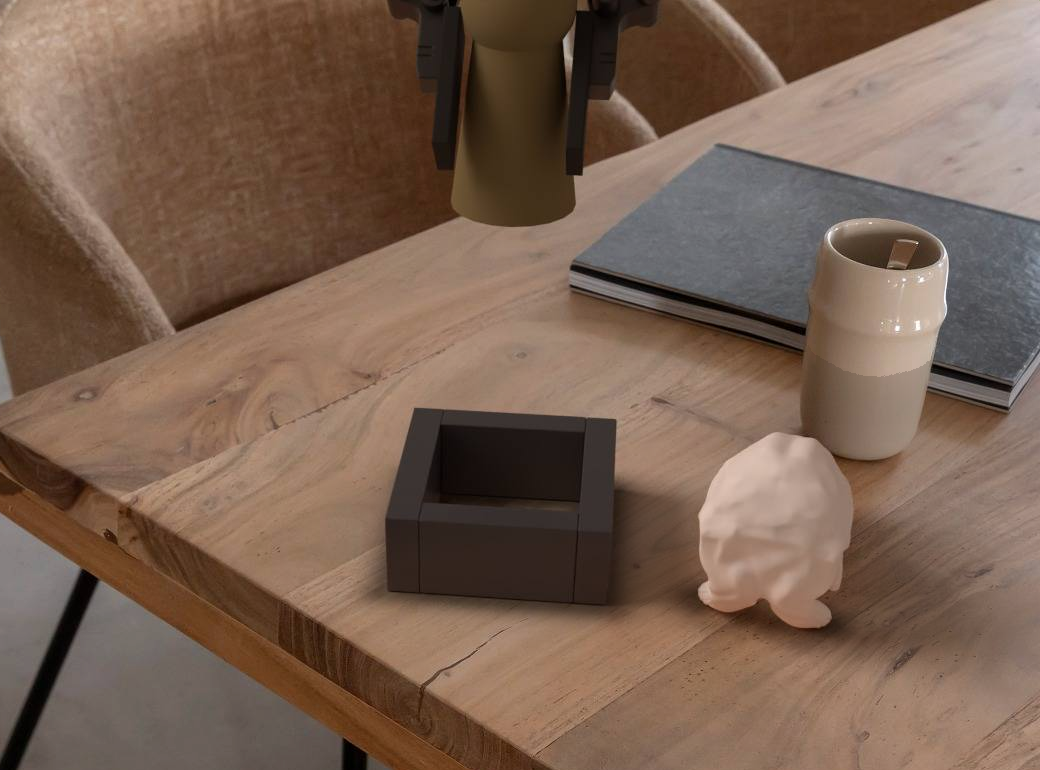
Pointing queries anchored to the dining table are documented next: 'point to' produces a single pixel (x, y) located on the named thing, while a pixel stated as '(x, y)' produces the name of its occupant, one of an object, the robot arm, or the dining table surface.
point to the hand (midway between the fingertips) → (508, 158)
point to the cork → (515, 114)
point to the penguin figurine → (776, 530)
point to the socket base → (498, 530)
